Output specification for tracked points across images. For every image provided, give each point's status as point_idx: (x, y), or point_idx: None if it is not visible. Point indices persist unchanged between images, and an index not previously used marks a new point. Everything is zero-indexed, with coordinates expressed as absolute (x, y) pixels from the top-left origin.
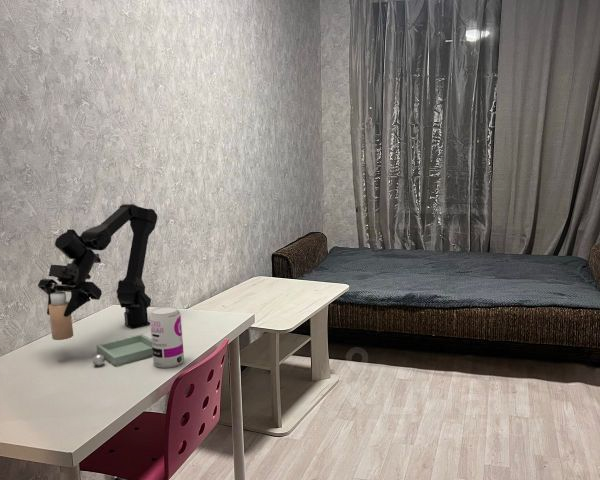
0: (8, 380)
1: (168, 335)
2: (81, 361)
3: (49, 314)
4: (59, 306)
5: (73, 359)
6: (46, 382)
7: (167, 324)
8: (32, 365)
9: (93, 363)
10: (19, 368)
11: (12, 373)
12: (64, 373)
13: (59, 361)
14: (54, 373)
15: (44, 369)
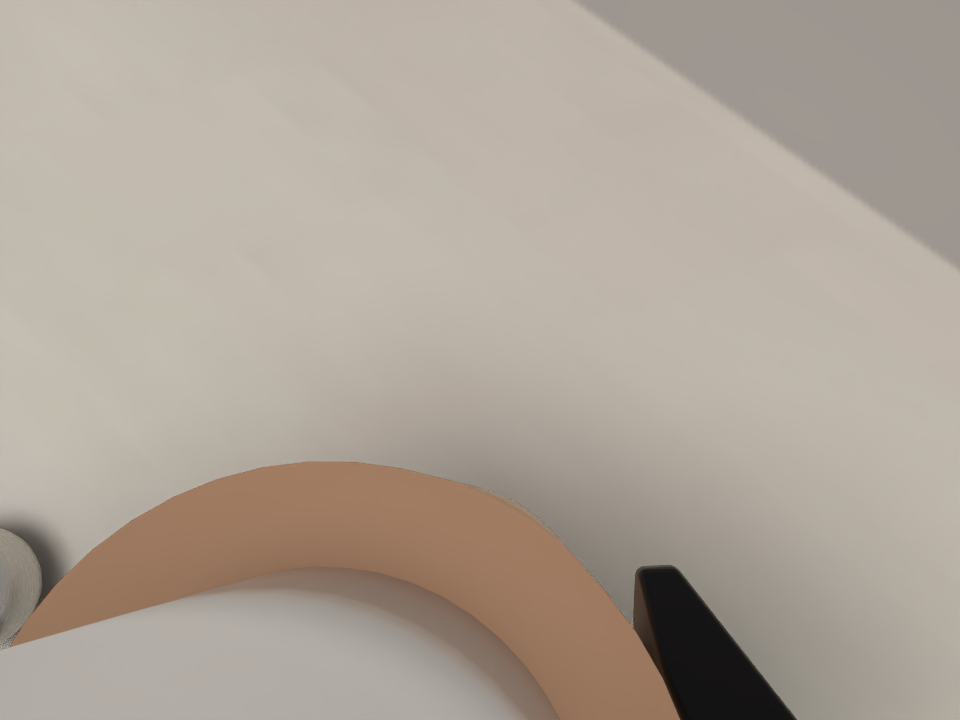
0: (566, 23)
1: None
2: None
3: (525, 515)
4: (61, 588)
5: None
6: (206, 111)
7: None
8: (671, 353)
9: (22, 539)
10: (727, 251)
11: (678, 142)
12: (202, 312)
13: None
14: (293, 279)
15: (465, 318)
